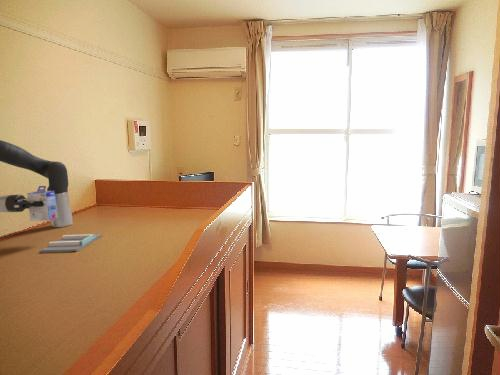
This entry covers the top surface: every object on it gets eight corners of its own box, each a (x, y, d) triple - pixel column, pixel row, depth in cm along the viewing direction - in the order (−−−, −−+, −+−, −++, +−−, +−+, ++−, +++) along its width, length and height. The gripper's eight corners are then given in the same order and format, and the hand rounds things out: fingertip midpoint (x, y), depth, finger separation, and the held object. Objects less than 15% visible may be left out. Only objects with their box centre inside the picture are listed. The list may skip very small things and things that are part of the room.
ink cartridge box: (59, 217, 153) (54, 185, 151) (49, 221, 148) (44, 187, 146) (40, 217, 155) (35, 185, 153) (30, 221, 150) (24, 187, 148)
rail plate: (69, 237, 157) (69, 232, 157) (101, 236, 156) (101, 231, 156) (40, 252, 138) (39, 246, 137) (76, 251, 137) (76, 245, 136)
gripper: (-4, 198, 144) (35, 196, 143) (21, 192, 158) (56, 190, 157) (-1, 216, 145) (37, 214, 144) (24, 208, 159) (59, 207, 158)
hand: (47, 202), depth 150 cm, fingers closed on ink cartridge box, 6 cm apart
